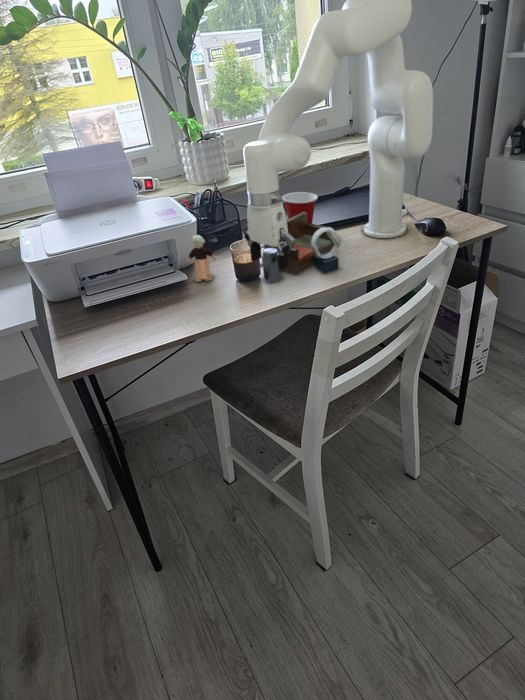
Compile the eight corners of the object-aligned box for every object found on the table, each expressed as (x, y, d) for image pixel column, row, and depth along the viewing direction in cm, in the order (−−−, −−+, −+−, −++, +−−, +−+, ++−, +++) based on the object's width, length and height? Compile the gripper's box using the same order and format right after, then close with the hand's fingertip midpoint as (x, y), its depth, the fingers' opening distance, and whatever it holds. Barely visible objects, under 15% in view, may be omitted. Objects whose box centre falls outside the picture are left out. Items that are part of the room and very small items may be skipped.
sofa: (304, 244, 139) (303, 211, 133) (334, 251, 132) (334, 217, 127) (266, 265, 130) (262, 231, 124) (296, 275, 123) (293, 239, 117)
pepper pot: (272, 273, 125) (269, 246, 121) (284, 277, 123) (281, 249, 118) (261, 280, 123) (257, 252, 118) (273, 284, 120) (270, 255, 116)
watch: (344, 267, 124) (344, 227, 118) (318, 275, 122) (316, 235, 115) (334, 259, 128) (333, 221, 122) (308, 267, 126) (306, 228, 120)
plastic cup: (326, 234, 144) (325, 195, 137) (295, 243, 140) (293, 204, 133) (307, 224, 152) (306, 187, 145) (279, 232, 148) (275, 195, 141)
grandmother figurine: (192, 284, 125) (182, 240, 118) (191, 278, 128) (182, 234, 121) (220, 279, 126) (212, 235, 118) (218, 273, 129) (211, 230, 122)
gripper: (301, 198, 107) (304, 266, 117) (249, 188, 118) (256, 251, 127) (280, 208, 103) (285, 277, 113) (228, 196, 113) (236, 261, 123)
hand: (269, 263), depth 120 cm, fingers open, 9 cm apart
